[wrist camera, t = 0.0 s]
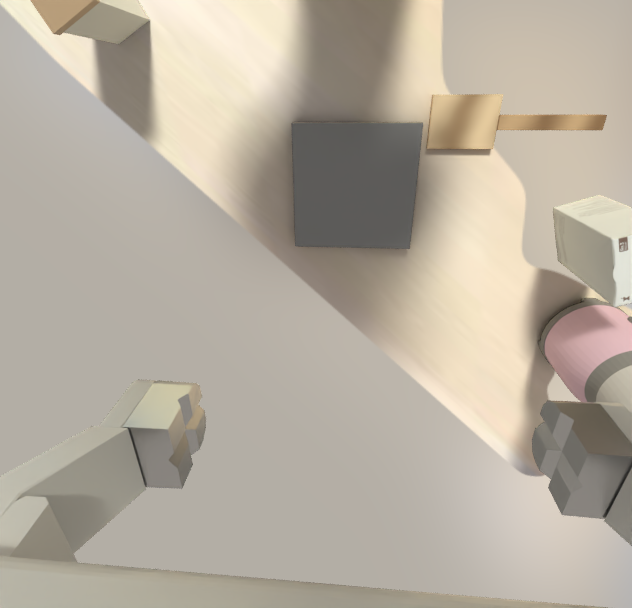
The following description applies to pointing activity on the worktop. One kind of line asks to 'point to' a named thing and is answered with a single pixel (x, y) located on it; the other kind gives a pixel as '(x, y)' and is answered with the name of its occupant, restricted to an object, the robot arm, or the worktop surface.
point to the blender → (592, 351)
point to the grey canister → (93, 18)
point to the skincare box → (597, 245)
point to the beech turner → (490, 121)
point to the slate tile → (355, 183)
